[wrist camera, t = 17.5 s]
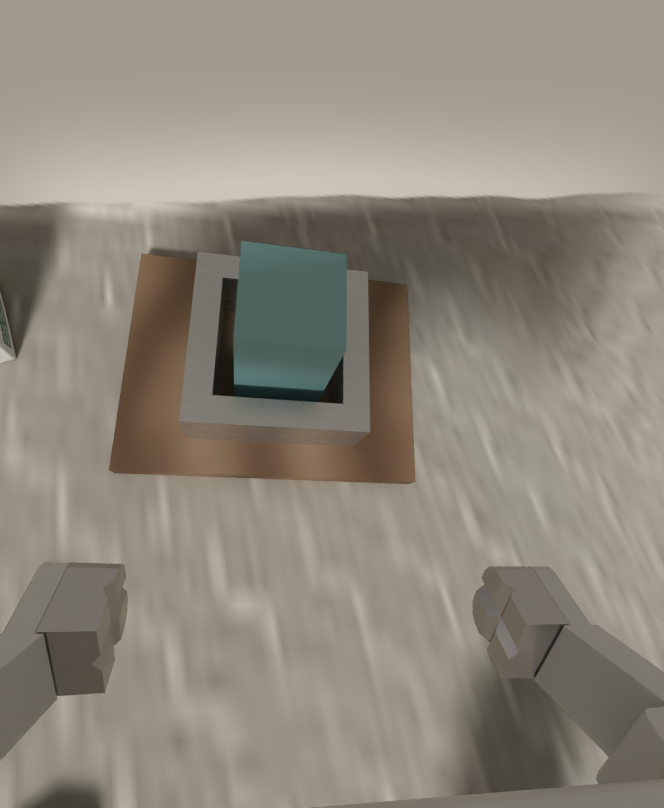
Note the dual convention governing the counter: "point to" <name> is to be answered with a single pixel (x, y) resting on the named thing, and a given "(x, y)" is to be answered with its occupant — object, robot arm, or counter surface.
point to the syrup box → (5, 336)
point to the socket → (270, 417)
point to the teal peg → (288, 321)
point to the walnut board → (163, 383)
